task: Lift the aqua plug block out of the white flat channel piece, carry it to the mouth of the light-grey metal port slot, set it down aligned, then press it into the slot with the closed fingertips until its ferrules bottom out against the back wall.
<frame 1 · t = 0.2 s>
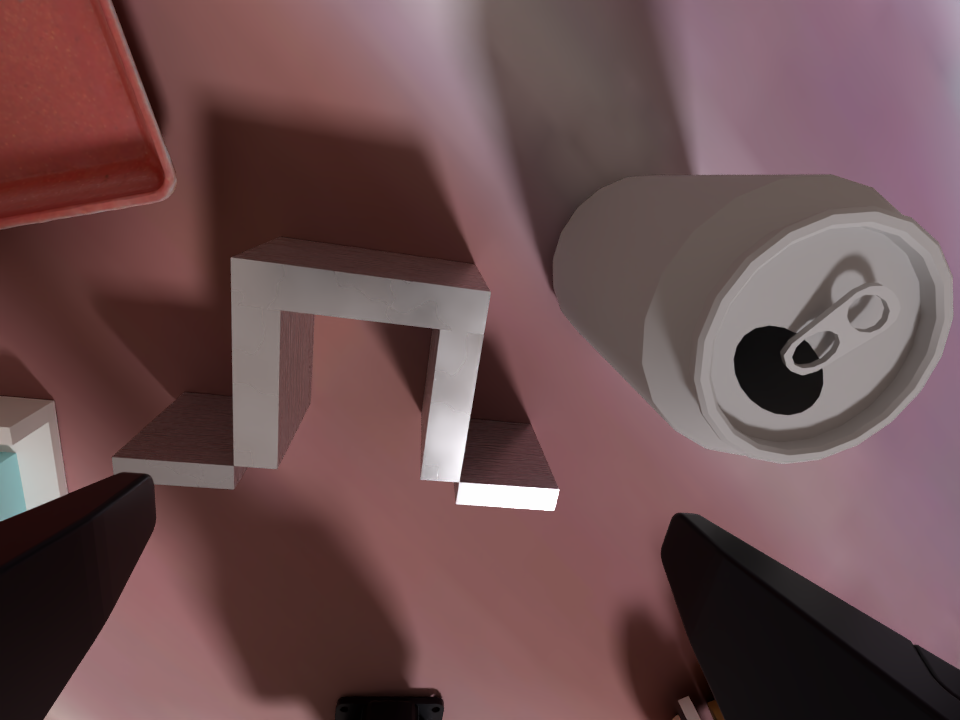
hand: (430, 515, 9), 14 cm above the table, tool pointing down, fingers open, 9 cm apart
port: (371, 349, 22), on the table
can: (626, 262, 22), on the table
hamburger: (705, 715, 35), on the table
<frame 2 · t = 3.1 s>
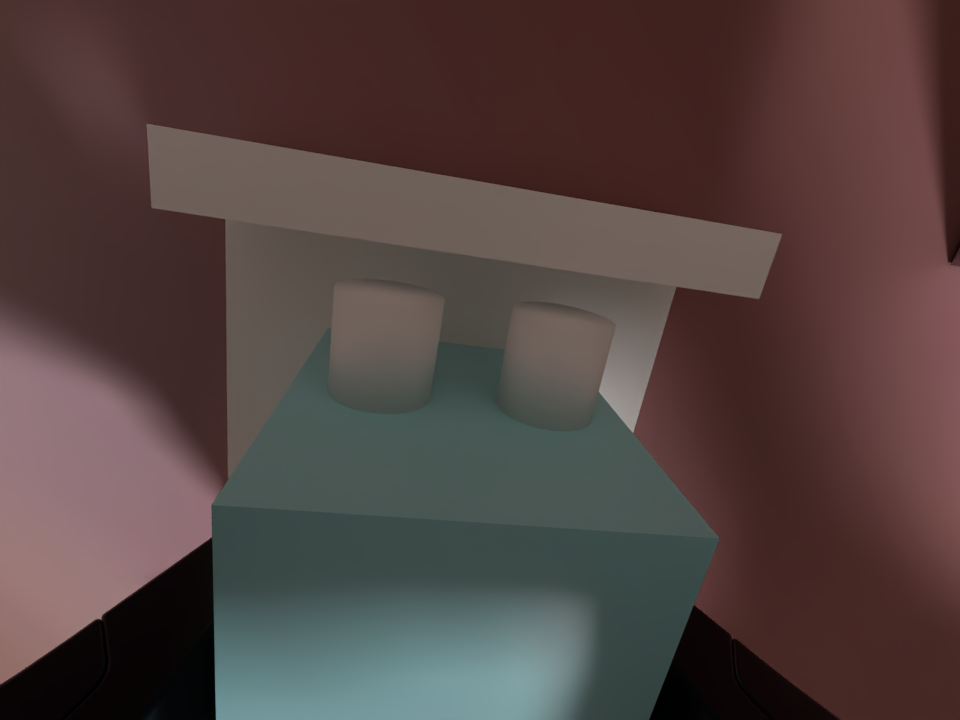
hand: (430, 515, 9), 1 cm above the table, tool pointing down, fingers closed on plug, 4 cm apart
white flat channel piece: (430, 481, 9), on the table
plug: (430, 498, 9), point 1 cm above the table, touching gripper, white flat channel piece
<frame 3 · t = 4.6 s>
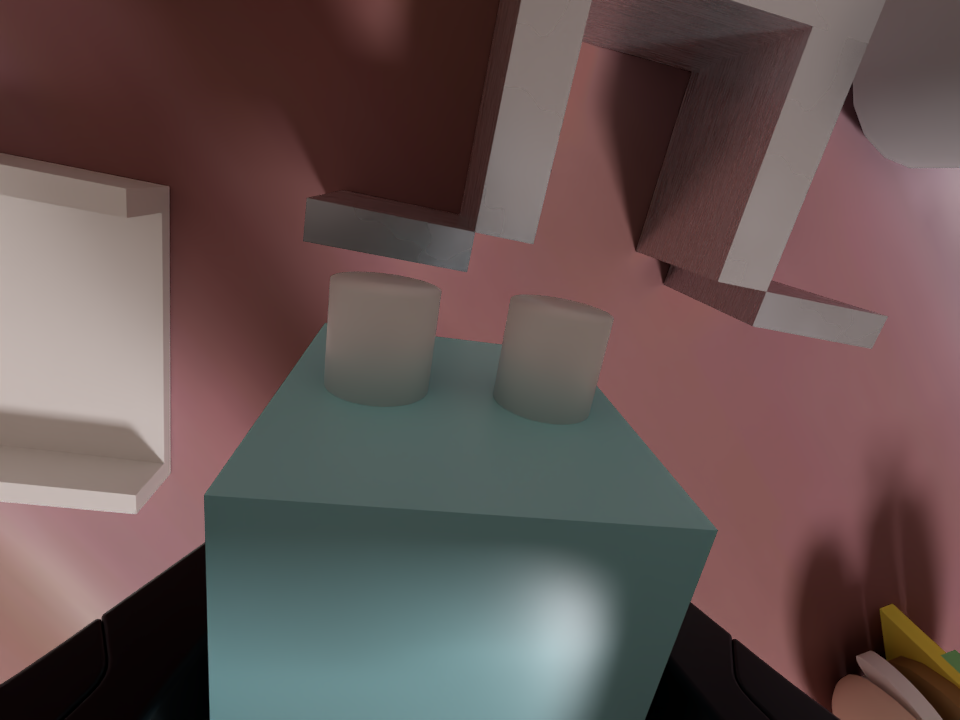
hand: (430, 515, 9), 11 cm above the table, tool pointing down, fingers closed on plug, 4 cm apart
port: (593, 149, 17), on the table
white flat channel piece: (61, 328, 17), on the table
can: (928, 54, 17), on the table
plug: (428, 494, 9), point 10 cm above the table, touching gripper
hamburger: (866, 678, 29), on the table
when the fingers open (1 cm above the table, at t = 6.3 s): plug stays where it is, on the table.
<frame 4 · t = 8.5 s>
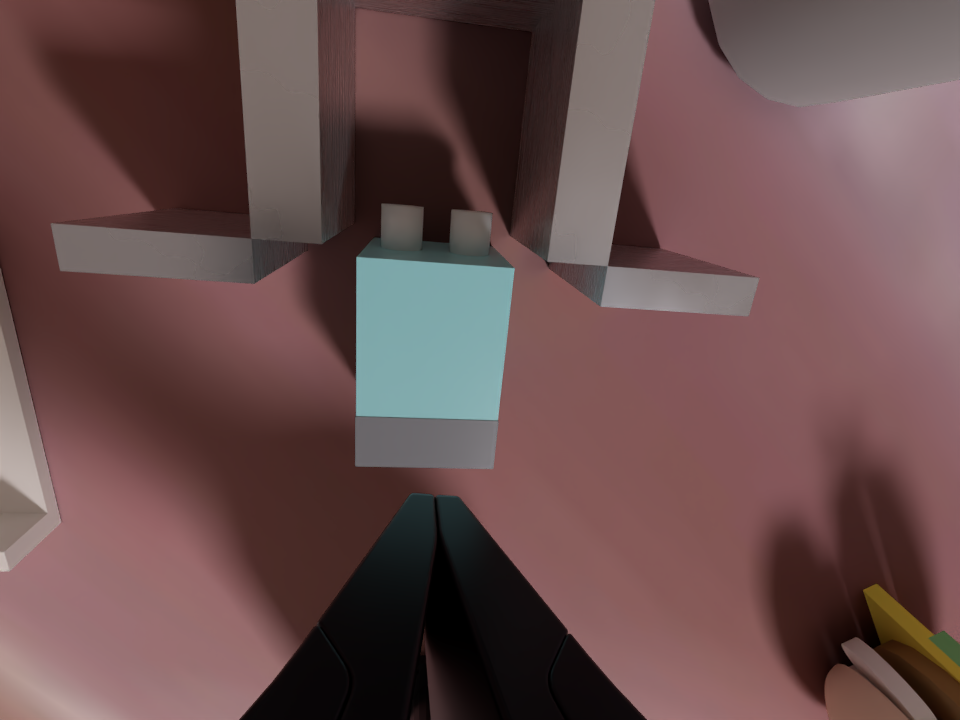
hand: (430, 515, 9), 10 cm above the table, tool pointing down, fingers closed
port: (439, 131, 15), on the table
plug: (429, 326, 18), on the table
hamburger: (863, 665, 27), on the table
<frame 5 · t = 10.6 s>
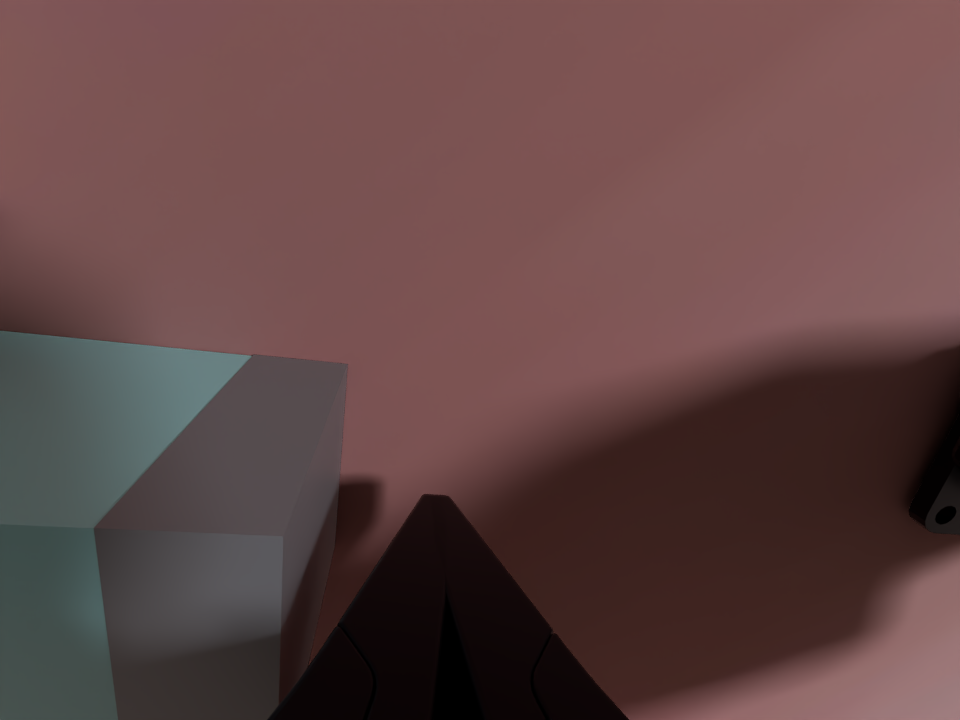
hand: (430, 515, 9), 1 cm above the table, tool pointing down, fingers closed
plug: (172, 450, 9), on the table, touching gripper
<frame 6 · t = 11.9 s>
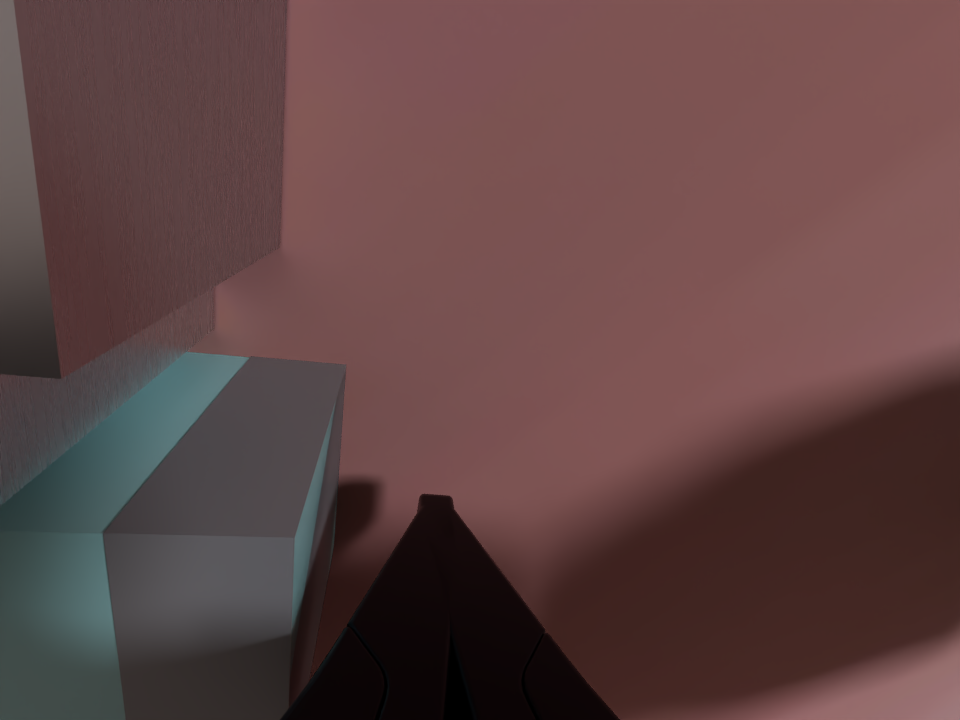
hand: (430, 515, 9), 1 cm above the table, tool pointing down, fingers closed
port: (27, 453, 8), on the table
plug: (168, 453, 9), on the table, touching gripper
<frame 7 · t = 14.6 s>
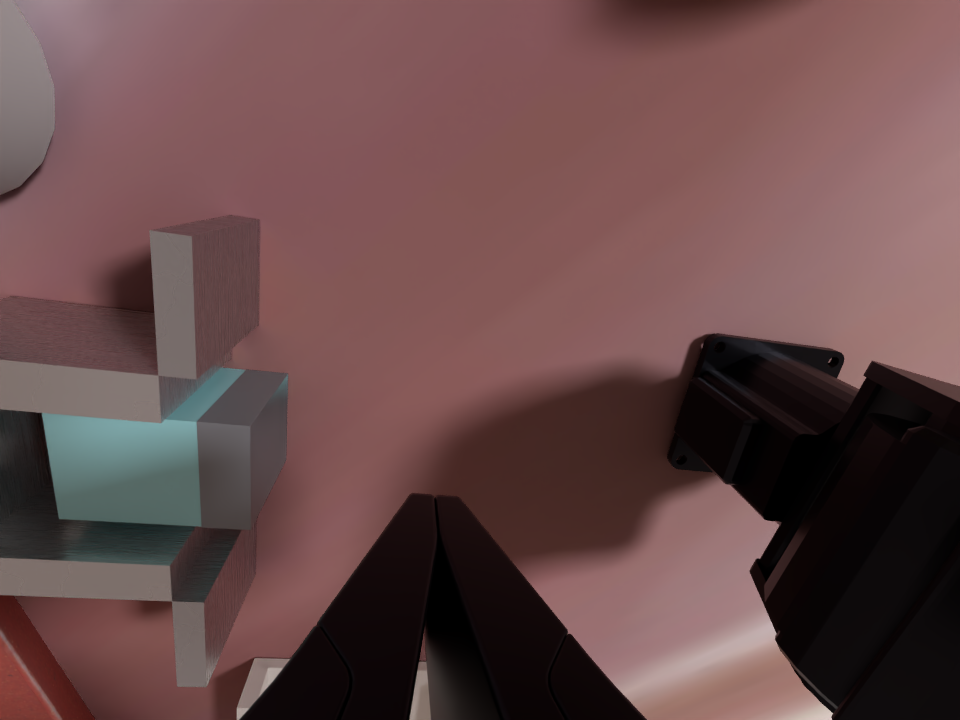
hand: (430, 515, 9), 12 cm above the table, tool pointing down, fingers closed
port: (152, 410, 20), on the table
white flat channel piece: (360, 707, 27), on the table
plug: (210, 411, 20), on the table
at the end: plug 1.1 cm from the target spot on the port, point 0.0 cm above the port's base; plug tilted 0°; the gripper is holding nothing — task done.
